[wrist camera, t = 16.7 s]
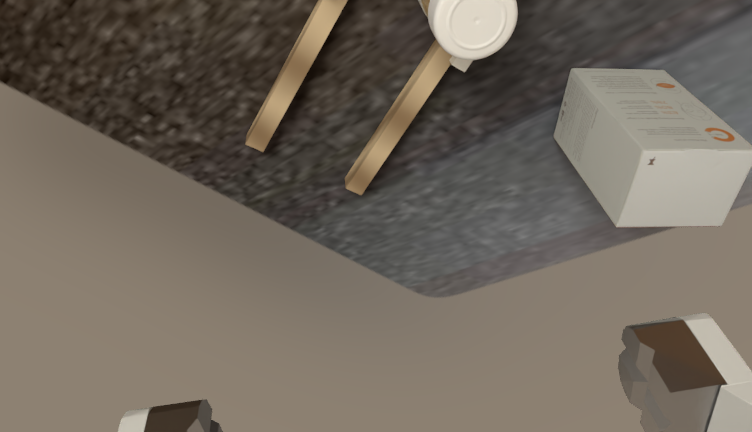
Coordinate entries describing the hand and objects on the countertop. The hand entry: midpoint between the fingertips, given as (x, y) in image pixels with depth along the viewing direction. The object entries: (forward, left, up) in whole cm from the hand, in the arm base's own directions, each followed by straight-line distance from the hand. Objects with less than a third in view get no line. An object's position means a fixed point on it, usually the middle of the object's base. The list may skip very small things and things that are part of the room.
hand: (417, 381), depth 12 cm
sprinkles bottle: (+7, -2, -37) cm, 38 cm away
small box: (+20, -16, -37) cm, 45 cm away
